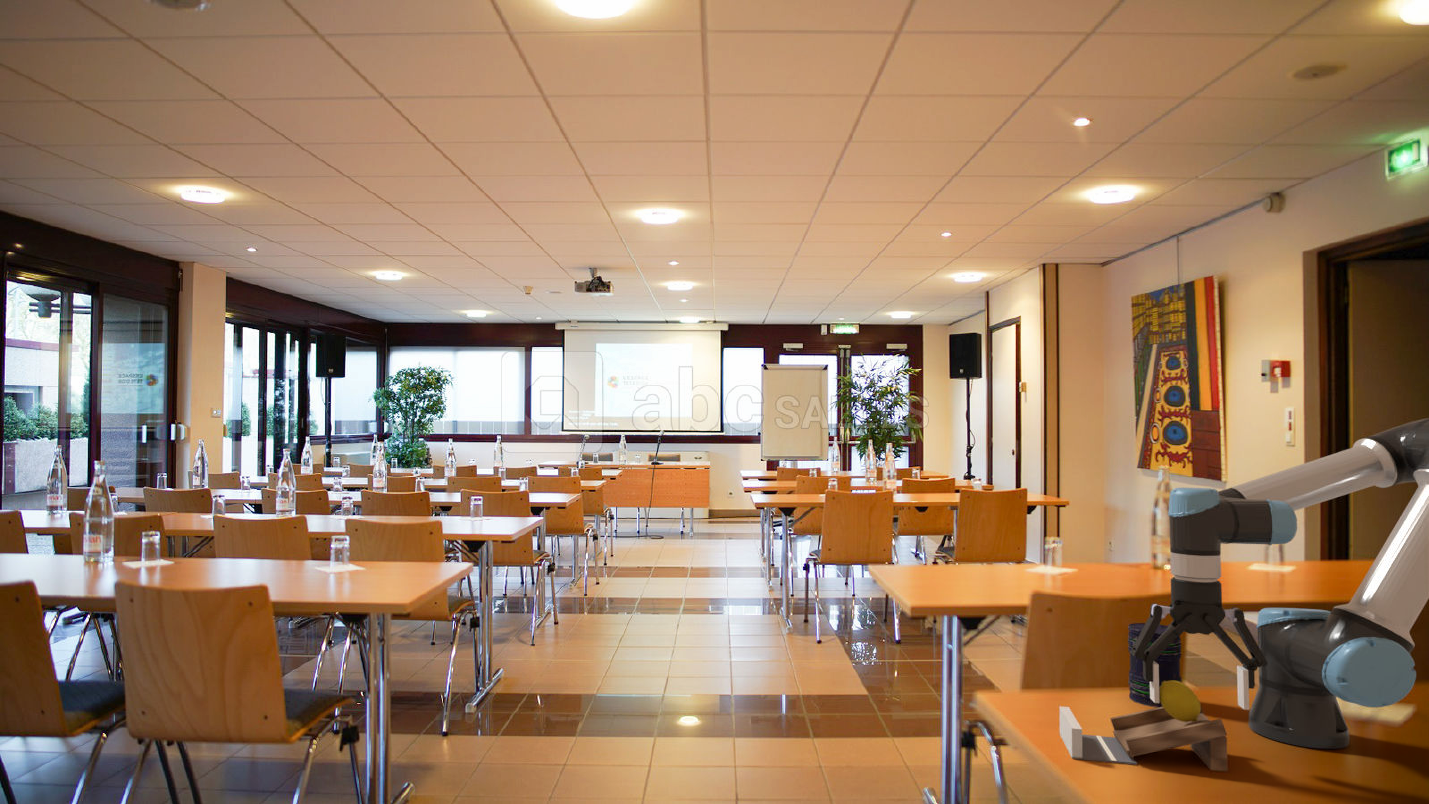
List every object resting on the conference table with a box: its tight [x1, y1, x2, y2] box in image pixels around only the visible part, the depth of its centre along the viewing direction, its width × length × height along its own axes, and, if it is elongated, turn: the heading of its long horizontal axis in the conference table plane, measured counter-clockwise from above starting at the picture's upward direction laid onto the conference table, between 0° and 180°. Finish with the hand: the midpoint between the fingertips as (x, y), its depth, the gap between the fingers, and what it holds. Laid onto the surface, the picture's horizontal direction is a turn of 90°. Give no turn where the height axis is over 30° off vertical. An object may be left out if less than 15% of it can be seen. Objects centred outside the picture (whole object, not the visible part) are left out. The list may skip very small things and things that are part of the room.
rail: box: [1059, 705, 1083, 761], centre depth 143 cm, size 2×12×5 cm, turn 167°
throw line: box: [1095, 735, 1117, 764], centre depth 141 cm, size 1×12×1 cm, turn 166°
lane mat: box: [1060, 734, 1138, 766], centre depth 142 cm, size 10×12×1 cm
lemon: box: [1159, 681, 1202, 722], centre depth 139 cm, size 6×6×8 cm
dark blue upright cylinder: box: [1127, 622, 1183, 708], centre depth 170 cm, size 10×10×15 cm
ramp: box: [1109, 700, 1228, 772], centre depth 139 cm, size 15×12×8 cm
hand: (1198, 704), depth 138 cm, fingers open, 13 cm apart
